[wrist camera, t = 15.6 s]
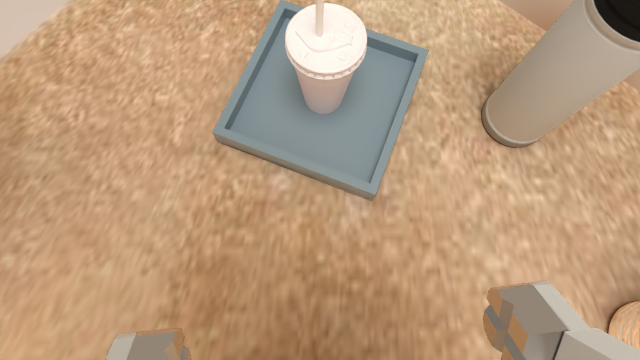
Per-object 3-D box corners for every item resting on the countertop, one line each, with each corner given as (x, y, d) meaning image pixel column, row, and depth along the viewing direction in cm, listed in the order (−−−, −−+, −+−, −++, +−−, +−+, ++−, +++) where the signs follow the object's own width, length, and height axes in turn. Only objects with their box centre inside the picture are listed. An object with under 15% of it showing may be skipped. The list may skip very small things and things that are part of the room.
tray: (218, 141, 39) (212, 132, 37) (282, 14, 43) (280, -1, 41) (371, 200, 37) (375, 194, 35) (422, 63, 42) (428, 50, 40)
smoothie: (297, 64, 41) (289, -51, 27) (359, 74, 40) (382, -37, 27) (285, 121, 39) (270, 28, 25) (350, 132, 39) (369, 44, 25)
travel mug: (553, 144, 39) (781, -1, 20) (489, 151, 39) (658, 11, 20) (536, 88, 41) (731, -95, 22) (474, 94, 41) (616, -85, 22)
